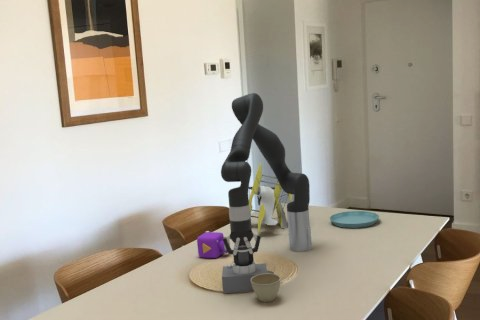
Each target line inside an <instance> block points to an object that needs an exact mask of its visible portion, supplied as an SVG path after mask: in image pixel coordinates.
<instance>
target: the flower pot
mask: <svg viewBox="0 0 480 320" xmlns="http://www.w3.org/2000/svg"><path fill="white" fill-rule="evenodd" d="M251 284H252V288H253V290H254V291H253V292H254V294H255V295H256V297H257V298H258V300H259V301H260V302H263V303H269V302H272V301H274V300H275V299H276V297H277V295H278V292H279V290H280V287H281V276H280V275H279V274H276V273H274V274H271V273H265V274H259V275H256V276H254V277H252V278H251Z"/></svg>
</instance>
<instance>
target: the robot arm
mask: <svg viewBox="0 0 480 320" xmlns="http://www.w3.org/2000/svg"><path fill="white" fill-rule="evenodd" d="M231 110H232V113H233V114H234V117H235V118H236V119H237V120H238V122H239V123H240V124H241V126H240V127H239V129H237V131H236V132H235V134H234V136H233V138H232V142H231V146H230V152H229V153H228V155H227V157H226V158H225V159H224V161H223V164H222V165H221V169H220V176H221V178H222V179H223V181H225V182H226V183H236V182H237V183H239V182H240V185H239V186H238V187H234V188H231V189H229V190H228V193H227V194H228V206H229V207H228V218H229V227H230V228H229V229H230V234H229V235H228V236H224V238H223V242H224V244H225V247H226V249H227V252H228V253H227V254H228V255H232V257H233V262H234V263H235V264H236V265H238V258H237V249H238V246H242V245H244V246H247V248H248V249H249V253H250V254H249V257H250V264H252V262H253V261H255V260H254V259H255V258H254V254H255V253H257V252H258V251H259V248H260V247H259V246H260V243H261V238H262V237H261V234H260V233H259V234H258V233H256V234H255V233H254V232H253V229H252V217H251V216H252V213H251V214H250V207H249V187H250V182H251V176H252V166H251V165H250V163H249V162H248V160H249V158H250V154H251V149H252V144H253V143H252V142H254V143H255V145H256V146H257V149H259V151H260V153H261V155H262V156H263V158H264V160H265V161H266V162H267V163H268V165H269V167H270V168H271V170H272V172H273V174H274V175H275V177H276V178H277V181H278V182H279V184H280V186H281V188H282V189H281V190H284V191H283V193H285V194H287V193H288V194H294V201H290V202H288V203H287V204H286V217H287V231H288V241H289V242H288V247H289V250H290V251H292V252H297V253H298V252H300V253H301V252H308V251H311V250H313V246H312V229H311V227H310V226H311V225H310V212H309V210H310V209H309V204H310V199H311V198H310V180H309V178H308V176H307V174H305V173H299V172H292V170H290V168H289V167H288V165H287V164H286V148H285V146H284V144H283V143H282V141H281V140H280V138H279V136H278V135H277V134H276V133H274V132H273V131H272V130H270V129H268V128H266V127H264V126H262V125H261V124H259V122H260V120H261V118H262V115H263V112H264V102H263V100H262V98H261V96H260V95H259V94H258V93H256V92H251V93H248V94H246V95H242V96H239V97H237V98H234V99H233V100H232V102H231ZM276 178H275V179H276ZM288 194H287V195H288ZM253 239H254V241H255V244H254V247H252V244H251V241H252V240H253ZM230 240H231V241H232V242H233V243H234V246H233V249H232V248H231V245H229V242H230ZM230 243H231V242H230Z"/></svg>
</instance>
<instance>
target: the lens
mask: <svg viewBox="0 0 480 320" xmlns="http://www.w3.org/2000/svg"><path fill="white" fill-rule="evenodd" d="M249 254H250V253H249V249H248V248H247V246H244V245H242V246H238V249H237V258H238V266H249V265H250V257H249Z"/></svg>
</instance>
